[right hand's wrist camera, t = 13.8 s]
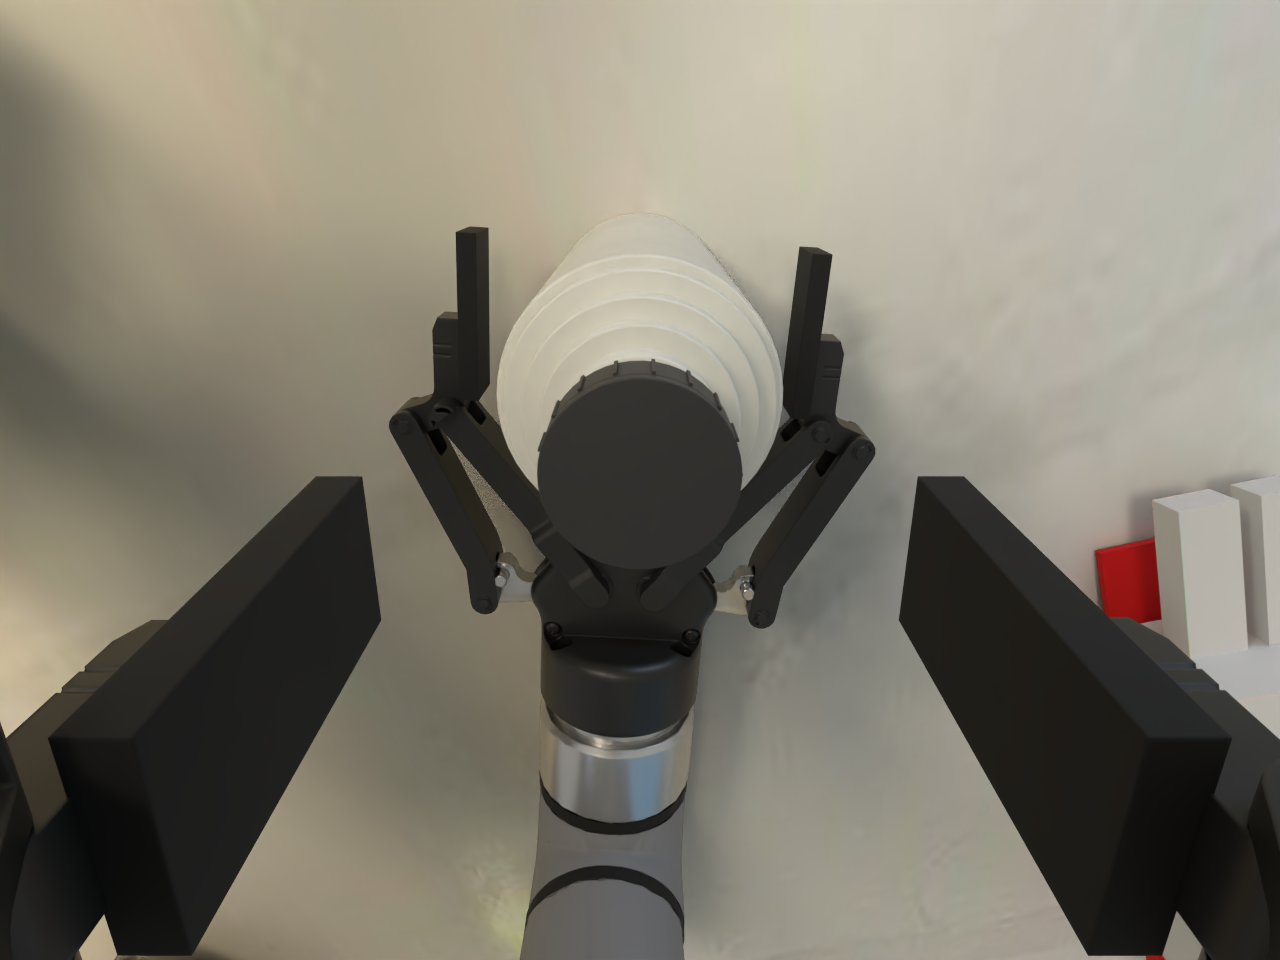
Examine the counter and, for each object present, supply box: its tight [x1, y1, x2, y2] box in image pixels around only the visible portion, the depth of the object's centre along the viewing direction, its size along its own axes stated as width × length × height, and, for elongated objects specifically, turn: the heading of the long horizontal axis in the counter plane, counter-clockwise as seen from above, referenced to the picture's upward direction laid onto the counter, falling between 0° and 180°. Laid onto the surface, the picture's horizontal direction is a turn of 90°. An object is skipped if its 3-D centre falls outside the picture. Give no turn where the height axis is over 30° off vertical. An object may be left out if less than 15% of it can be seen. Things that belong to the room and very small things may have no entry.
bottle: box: [496, 213, 783, 491], centre depth 28 cm, size 8×8×23 cm
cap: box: [537, 359, 743, 569], centre depth 18 cm, size 4×4×2 cm
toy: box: [1095, 475, 1280, 960], centre depth 43 cm, size 12×13×30 cm
